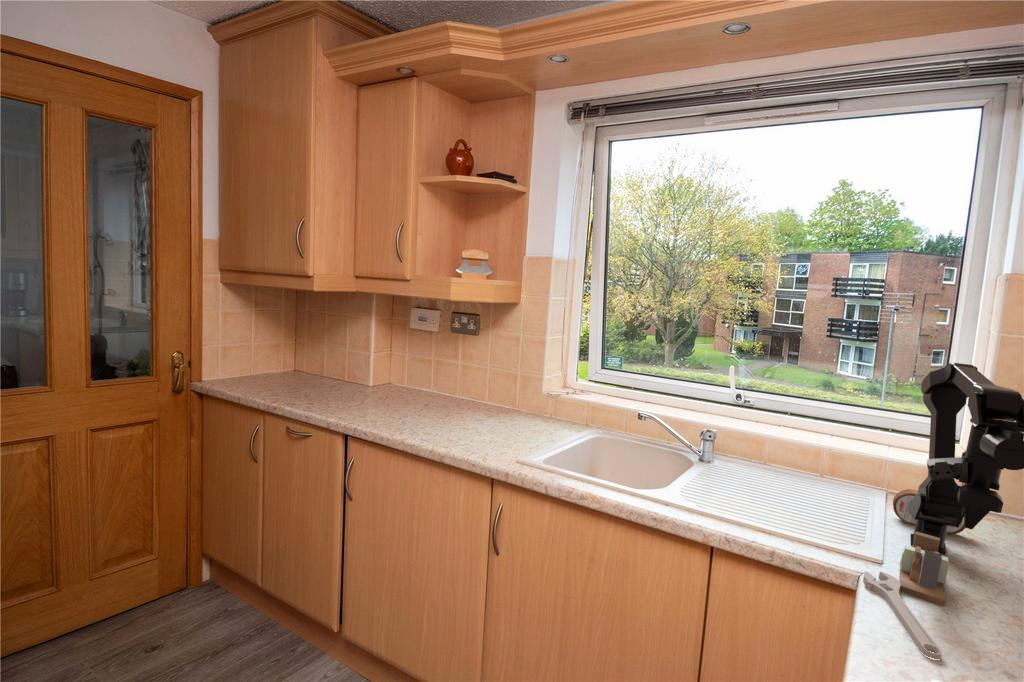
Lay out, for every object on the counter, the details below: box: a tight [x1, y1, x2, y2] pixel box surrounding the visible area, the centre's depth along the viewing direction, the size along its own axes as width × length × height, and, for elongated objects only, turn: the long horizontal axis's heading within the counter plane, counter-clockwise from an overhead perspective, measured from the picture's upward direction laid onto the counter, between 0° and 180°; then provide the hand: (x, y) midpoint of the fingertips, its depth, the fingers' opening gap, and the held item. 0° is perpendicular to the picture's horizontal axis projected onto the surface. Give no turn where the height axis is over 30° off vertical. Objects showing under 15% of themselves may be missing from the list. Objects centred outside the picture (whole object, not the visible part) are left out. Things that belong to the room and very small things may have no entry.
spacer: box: [900, 544, 950, 584], centre depth 114 cm, size 2×7×5 cm, turn 55°
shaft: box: [919, 550, 943, 590], centre depth 106 cm, size 11×2×6 cm, turn 145°
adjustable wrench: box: [862, 571, 943, 659], centre depth 102 cm, size 25×6×2 cm, turn 162°
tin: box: [892, 488, 967, 535], centre depth 140 cm, size 15×3×8 cm, turn 56°
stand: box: [898, 532, 947, 607], centre depth 113 cm, size 14×7×8 cm, turn 145°
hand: (968, 528), depth 113 cm, fingers closed
